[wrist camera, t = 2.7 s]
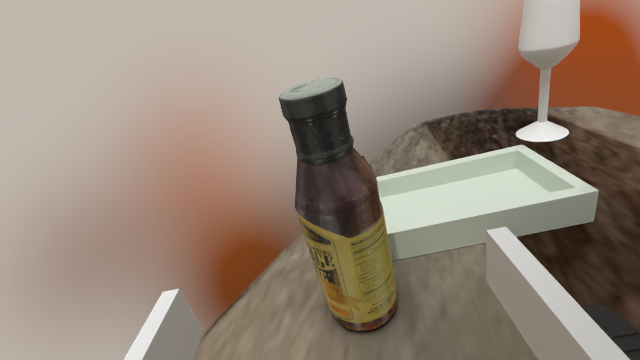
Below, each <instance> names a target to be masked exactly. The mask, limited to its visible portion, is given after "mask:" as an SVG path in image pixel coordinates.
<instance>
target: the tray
mask: <svg viewBox="0 0 640 360" xmlns="http://www.w3.org/2000/svg"><path fill="white" fill-rule="evenodd" d="M376 179H377V184H378V191H379V197H380V201H381V203H382V206H383V211H384V217H385V223H386V229H387V235H388V241H389V247H390V253H391V259H392V261H395V260H400V259H405V258H411V257H416V256H421V255H426V254H431V253H436V252H441V251H446V250H451V249H456V248H462V247H467V246H472V245H477V244H482V243H486V230H491V229H496V228H502V227H507V228H508V229H509V230H510V231H511V232H512V233H513V235H514V236H515V237H518V236H523V235H528V234H533V233H538V232H543V231H548V230H553V229H558V228H564V227H569V226H574V225H579V224H584V223H589V222H594V217H595V211H596V205H597V199H598V193H599V190H597V189H595V188H594V187H592V186H590V185H589V184H587V183H585V182H584V181H582V180H580V179H579V178H577V177H575V176H574V175H572V174H570V173H569V172H567V171H565V170H564V169H562V168H560V167H559V166H557V165H555V164H554V163H552V162H550V161H549V160H547V159H545V158H544V157H542V156H540V155H539V154H537V153H535V152H534V151H532V150H530V149H529V148H527V147H525V146H524V145H518V146H514V147H509V148H505V149H501V150H496V151H492V152H487V153H483V154H478V155H474V156H469V157H465V158H461V159H456V160H452V161H447V162H443V163H438V164H434V165H429V166H425V167H421V168H416V169H412V170H407V171H403V172H398V173H394V174H389V175H385V176H380V177H376Z"/></svg>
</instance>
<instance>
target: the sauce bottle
mask: <svg viewBox="0 0 640 360" xmlns="http://www.w3.org/2000/svg"><path fill="white" fill-rule="evenodd" d="M279 101H280V104H281V109H282V113H283V116H284V117H285V119H286V120H287V121H288V122H289V125H290V130H291V133H292V136H293V139H294V143H295V146H296V153H297V157H298V158H297V176H296V197H295V208H296V211H297V214H298V217H299V221H300V224H301V227H302V230H303V233H304V236H305V239H306V242H307V245H308V248H309V251H310V254H311V257H312V260H313V263H314V266H315V269H316V272H317V275H318V278H319V281H320V284H321V287H322V290H323V293H324V296H325V299H326V302H327V305H328V307H329V309H330V310H331V312H332V314H333V316H334V317H335V318H336V319H337V320H338V321H339V322H340V323H341V325H344V326H345V327H346V328H348V329H350V330H354V331H360V330H364V331H365V330H373V329H375V328H378V327H380V326H381V325H383V324H384V323H386V321H387V320H388V319H390V318H391V316H392V315H393V314H394V312H395V309H396V293H397V290H396V283H395V277H394V271H393V265H392V259H391V253H390V247H389V241H388V235H387V229H386V223H385V217H384V211H383V206H382V203H381V201H380V197H379V191H378V184H377V179H376V176H375V173H374V171H373V169H372V167H371V166H370V165H369V164H368V162H367V161H366V159H365V158H364V157H363V156H361V155H360V154H359V153H358V152H357V151H356V150H355V149H354V148H353V143H354V141H353V137H352V136H351V134H350V129H349V125H348V120H347V113H346V110H345V108H346V101H347V97H346V93H345V89H344V84H343V81H342V80H341V79H338V78H325V79H319V80H313V81H310V82H305V83H302V84H299V85H297V86H294V87H291V88H289V89H288V90H286V91H285V92H283V93H282V94H281V95H280V96H279Z"/></svg>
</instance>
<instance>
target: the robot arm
mask: <svg viewBox="0 0 640 360" xmlns="http://www.w3.org/2000/svg"><path fill="white" fill-rule="evenodd" d="M486 281H487V283H488V284H489V286H490V287H491V289H492V290H493V292H494V294H495V295H496V297H497V298H498V300H499V301H500V303H501V304H502V306H503V307H504V309H505V310H506V312H507V313H508V315H509V316H510V318H511V319H512V321H513V322H514V324H515V326H516V327H517V329H518V330H519V332H520V333H521V335H522V336H523V338H524V339H525V341H526V342H527V344H528V345H529V347H530V348H531V350H532V351H533V353H534V354H535V356H536V357H537V359H538V360H640V334H639V332H638V331H637V330H636V329H635V328H634V327H633V326H632V325H631V324H630V323H629V322H628V321H627V320H626V319H624V318H623V317H622V316H621V315H619V314H618V313H616V312H614V311H612V310H611V309H609V308H607V307H606V306H604V305H602V304H601V303H598V304H592V305H586V306H580V305H579V304H578V303H577V302H576V301H575V300H574V299H573V298H572V297H571V296H570V295H569V294H568V293H567V291H566V290H565V289H564V288H563V287H562V286H561V285H560V284H559V283H558V282H557V281H556V280H555V279H554V277H553V276H552V275H551V274H550V273H549V272H548V271H547V270H546V269H545V268H544V267H543V266H542V265H541V264H540V262H539V261H538V260H537V259H536V258H535V257H534V256H533V255H532V254H531V253H530V252H529V251H528V250H527V249H526V247H525V246H524V245H523V244H522V243H521V242H520V241H519V240H518V239H517V238H516V237H515V236H514V235H513V233H512V232H511V231H510V230H509V229H508V228H507V227H502V228H496V229H491V230H486ZM203 331H204V330H203V328H202V327H201V325H200V323H199V321H198V320H197V318H196V316H195V315H194V313H193V311H192V310H191V308H190V306H189V304H188V303H187V301H186V299H185V298H184V296H183V294H182V293H181V291H180V289H175V290H170V291H165V292H163V293H162V295H161V296H160V298H159V300H158V301H157V303H156V305H155V307H154V308H153V310H152V312H151V313H150V315H149V317H148V319H147V320H146V322H145V324H144V325H143V327H142V329H141V331H140V332H139V334H138V336H137V338H136V339H135V341H134V343H133V344H132V346H131V348H130V350H129V352H128V353H127V355H126V357H125V358H124V360H193V358H194V356H195V353H196V350H197V348H198V345H199V342H200V340H201V337H202V334H203Z"/></svg>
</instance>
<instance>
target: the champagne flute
mask: <svg viewBox="0 0 640 360" xmlns="http://www.w3.org/2000/svg"><path fill="white" fill-rule="evenodd" d="M579 38H580V0H524V7H523V15H522V22H521V30H520V37H519V45H518V49H519V52H520V54H521V55H522V56H523V57H524V59H526V60H527V61H528V62H530V63H531V64H532V65H534V66H535V67H537V68H540V69H541V72H540V88H539V104H538V120H537V121H536V122H534V123H532V124H530V125H528V126H526V127H524V128H521V129H520V130H518V131H517V132H516V136H517V137H518V138H520V139H522V140H526V141H533V142H547V141H554V140H558V139H562V138H564V137H566V136H567V135H568V134H569V131H568V130H567V129H566V128H564V127H561V126H559V125H557V124H554V123H552V122H549V121H547V113H548V100H549V87H550V86H549V85H550V72H551V67H553V66H555V65H556V64H558V63H559V62H560V61H561V60H562V59H563V58H565V57H566V56H567V55H568V54H569V53H570V52H571V51H572V49H574V47H575V46H576V44H577V43H578V41H579Z"/></svg>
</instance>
